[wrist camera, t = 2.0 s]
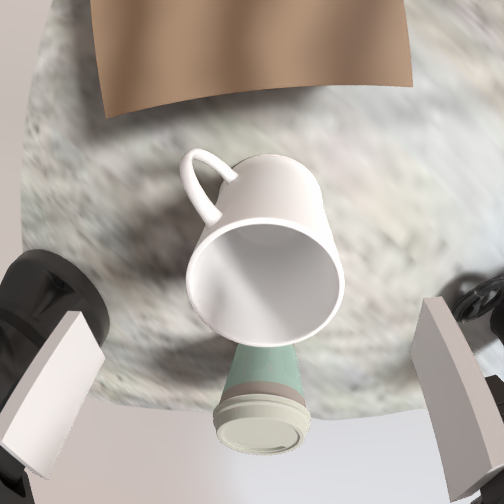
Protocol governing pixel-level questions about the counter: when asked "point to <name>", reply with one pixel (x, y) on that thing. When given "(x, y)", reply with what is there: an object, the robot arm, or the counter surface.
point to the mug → (262, 252)
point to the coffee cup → (262, 402)
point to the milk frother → (471, 302)
